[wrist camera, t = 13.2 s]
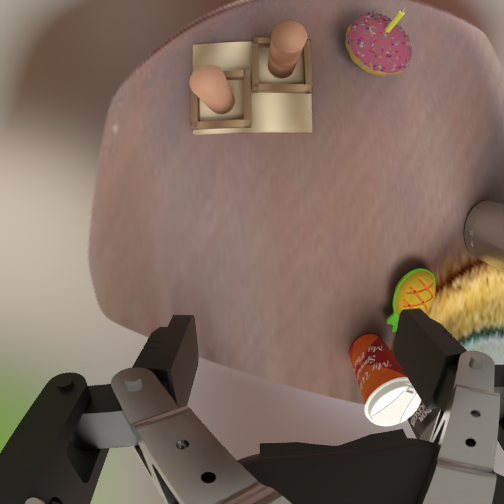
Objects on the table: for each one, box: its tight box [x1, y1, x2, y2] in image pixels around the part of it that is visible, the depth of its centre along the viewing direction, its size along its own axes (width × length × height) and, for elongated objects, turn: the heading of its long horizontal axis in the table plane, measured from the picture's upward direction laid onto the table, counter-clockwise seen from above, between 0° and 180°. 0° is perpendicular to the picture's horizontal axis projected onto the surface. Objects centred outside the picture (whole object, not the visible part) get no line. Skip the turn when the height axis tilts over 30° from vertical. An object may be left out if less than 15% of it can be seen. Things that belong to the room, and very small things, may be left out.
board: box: [191, 20, 313, 135], centre depth 31 cm, size 14×12×12 cm
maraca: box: [386, 268, 435, 332], centre depth 41 cm, size 7×10×5 cm
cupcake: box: [345, 7, 413, 76], centre depth 29 cm, size 9×8×12 cm
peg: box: [189, 65, 235, 114], centre depth 31 cm, size 3×3×11 cm
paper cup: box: [350, 334, 421, 426], centre depth 40 cm, size 8×8×14 cm
